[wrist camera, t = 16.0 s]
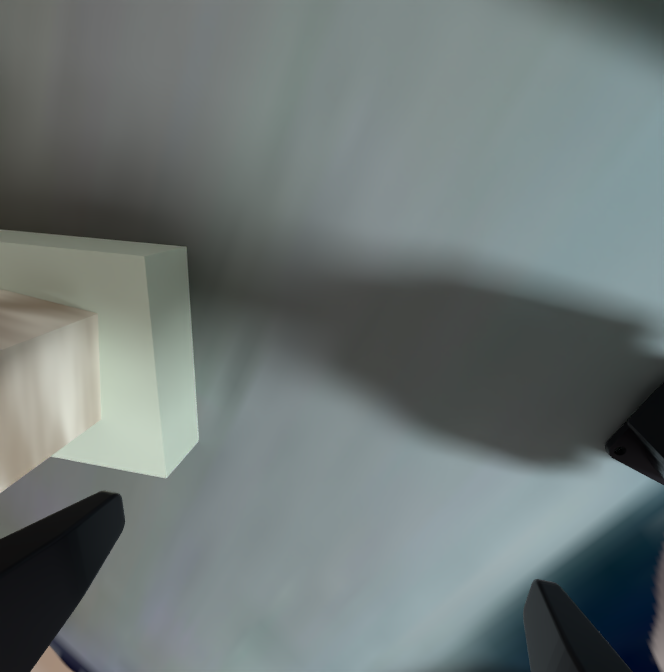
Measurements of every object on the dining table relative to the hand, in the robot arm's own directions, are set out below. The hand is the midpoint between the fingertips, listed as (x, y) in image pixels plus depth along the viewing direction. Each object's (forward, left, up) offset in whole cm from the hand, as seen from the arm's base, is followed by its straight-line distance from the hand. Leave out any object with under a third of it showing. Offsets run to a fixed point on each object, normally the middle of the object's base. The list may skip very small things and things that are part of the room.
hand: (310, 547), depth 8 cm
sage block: (+14, +8, -14) cm, 21 cm away
